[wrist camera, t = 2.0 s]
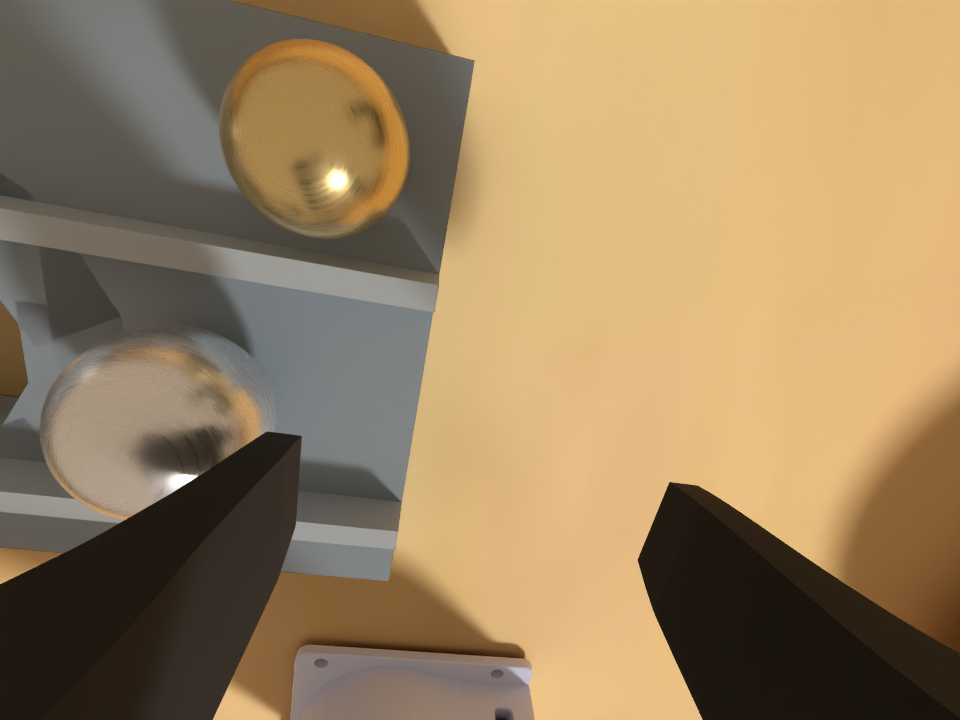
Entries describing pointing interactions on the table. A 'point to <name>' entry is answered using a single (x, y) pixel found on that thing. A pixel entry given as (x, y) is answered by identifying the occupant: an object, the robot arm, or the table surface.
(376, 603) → the table surface
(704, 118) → the table surface
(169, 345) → the steel ball
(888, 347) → the table surface
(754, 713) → the robot arm
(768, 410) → the table surface
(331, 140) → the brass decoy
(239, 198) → the grey divided tray
